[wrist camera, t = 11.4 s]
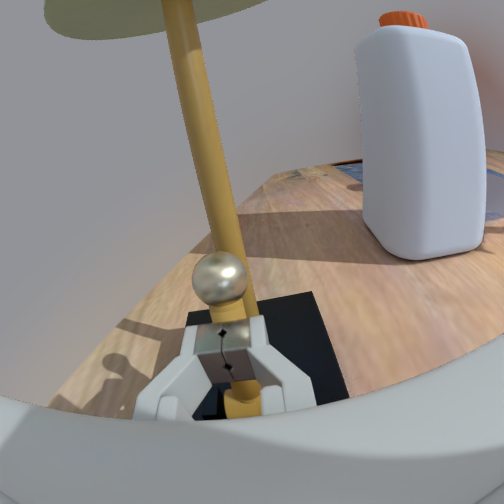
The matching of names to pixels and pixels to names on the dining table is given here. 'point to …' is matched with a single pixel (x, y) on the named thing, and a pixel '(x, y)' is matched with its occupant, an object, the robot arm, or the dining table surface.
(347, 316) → the dining table surface
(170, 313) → the dining table surface
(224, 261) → the lamp switch
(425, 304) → the dining table surface
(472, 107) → the plastic bottle
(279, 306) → the lamp
